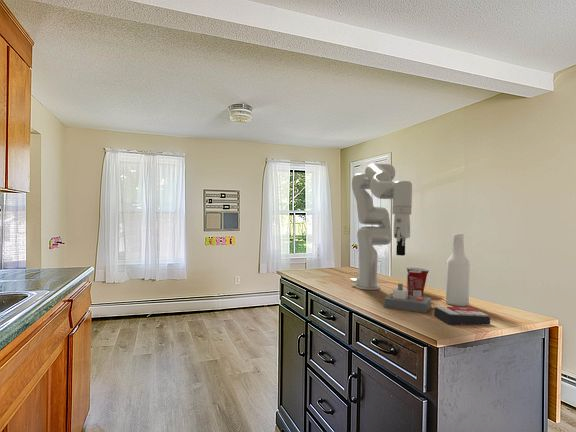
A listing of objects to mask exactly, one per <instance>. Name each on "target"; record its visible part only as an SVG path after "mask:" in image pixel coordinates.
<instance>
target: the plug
mask: <svg viewBox="0 0 576 432" xmlns="http://www.w3.org/2000/svg"><path fill="white" fill-rule="evenodd" d="M403 285H404V284H403V283H400V282H399V283H397V287H395V288H393V289H392V293H393V298H396V299H404V300H407V299H408V289H407V288H403V287H404V286H403Z"/></svg>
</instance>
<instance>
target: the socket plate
mask: <svg viewBox="0 0 576 432" xmlns="http://www.w3.org/2000/svg"><path fill="white" fill-rule="evenodd" d="M383 299H384V301H383V305H384V306H383V307H384V308H386V309H387V308H388V309H395V310H401V311H402V310H403V311H408V312H416V313H422V314H426V313H427V312H428V311H429V309H430V308H431V307H432V305H431V304H432V297H427V296H426V297H425V296H424V297H423V296H422V297H418V296H410V295H408V299H407V300H404V299H396V298H393V292H392V293H390V294H388V295H387V296H385V298H383Z"/></svg>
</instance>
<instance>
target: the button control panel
mask: <svg viewBox="0 0 576 432" xmlns="http://www.w3.org/2000/svg"><path fill="white" fill-rule="evenodd" d="M433 311H434V312H433V317H434V318H436V319H438V320H439V321H442V322H443V323H445V324H446V325H449V326H454V325H455V326H457V325H459V326H460V325H470V326H471V325H472V326H473V325H474V326H475V325H476V326H478V325H479V326H480V325H481V326H483V325H482V324H484V325H485V324H491V316H489V314H487V313H484V312H482V311H480V310H478V309H475V308H473V307H464V306H434V309H433ZM485 326H486V325H485Z"/></svg>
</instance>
